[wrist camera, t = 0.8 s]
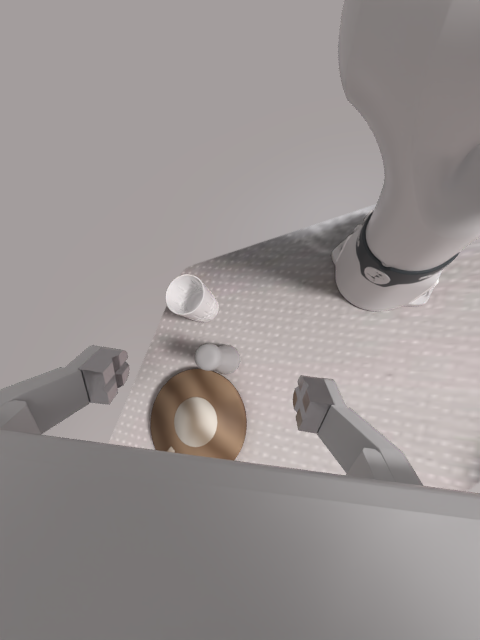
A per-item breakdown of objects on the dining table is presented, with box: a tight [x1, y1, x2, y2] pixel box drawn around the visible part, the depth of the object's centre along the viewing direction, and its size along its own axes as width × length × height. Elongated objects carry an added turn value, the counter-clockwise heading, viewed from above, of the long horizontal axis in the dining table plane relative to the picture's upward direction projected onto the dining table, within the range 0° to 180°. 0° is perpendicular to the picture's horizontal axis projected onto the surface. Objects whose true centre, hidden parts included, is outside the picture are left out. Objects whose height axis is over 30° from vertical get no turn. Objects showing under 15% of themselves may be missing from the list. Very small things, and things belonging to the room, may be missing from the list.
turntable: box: [151, 369, 247, 461], centre depth 43 cm, size 20×20×1 cm
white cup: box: [165, 274, 219, 323], centre depth 45 cm, size 8×8×10 cm
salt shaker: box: [195, 343, 240, 374], centre depth 40 cm, size 6×6×13 cm
